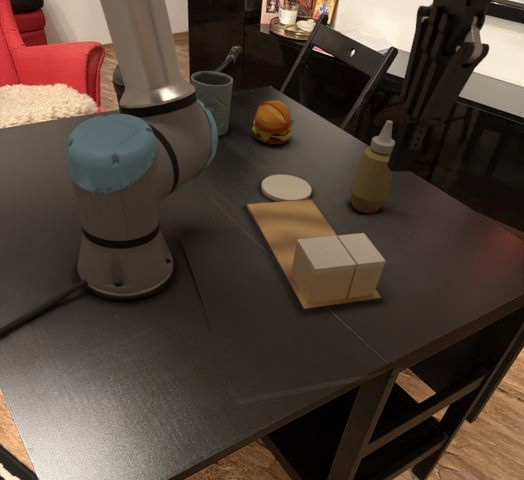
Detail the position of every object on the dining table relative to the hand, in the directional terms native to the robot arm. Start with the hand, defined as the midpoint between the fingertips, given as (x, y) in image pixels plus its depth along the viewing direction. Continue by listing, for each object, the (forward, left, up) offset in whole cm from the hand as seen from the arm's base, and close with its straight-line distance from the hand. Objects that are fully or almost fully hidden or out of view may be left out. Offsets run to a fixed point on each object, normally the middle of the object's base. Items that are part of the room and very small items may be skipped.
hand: (398, 168), depth 64 cm
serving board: (+5, +15, -24) cm, 28 cm away
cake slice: (+3, +3, -23) cm, 23 cm away
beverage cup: (+9, +73, -24) cm, 78 cm away
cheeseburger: (+36, +52, -24) cm, 68 cm away
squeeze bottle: (+28, +17, -24) cm, 41 cm away
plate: (+19, +32, -24) cm, 44 cm away
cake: (-3, +6, -23) cm, 24 cm away
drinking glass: (+27, +65, -24) cm, 75 cm away
